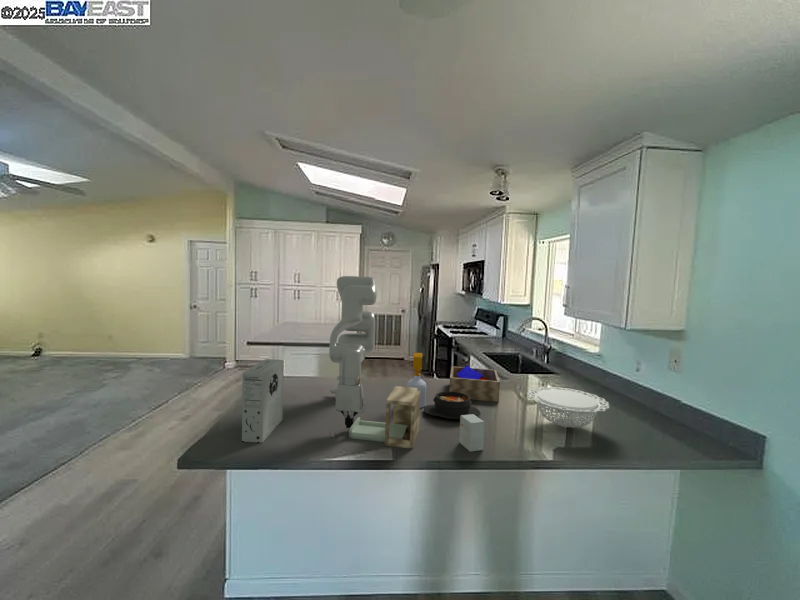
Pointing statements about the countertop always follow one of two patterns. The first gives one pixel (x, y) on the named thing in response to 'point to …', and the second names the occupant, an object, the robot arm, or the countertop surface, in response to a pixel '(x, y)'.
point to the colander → (567, 405)
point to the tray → (375, 430)
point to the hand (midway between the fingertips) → (349, 426)
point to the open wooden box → (476, 385)
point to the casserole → (451, 405)
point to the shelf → (403, 415)
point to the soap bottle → (418, 378)
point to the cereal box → (262, 400)
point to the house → (470, 374)
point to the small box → (471, 432)
